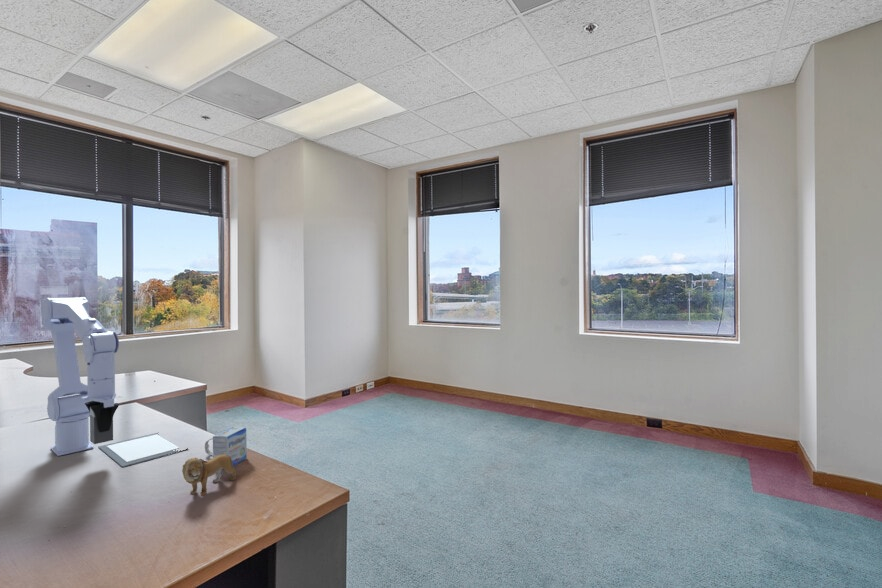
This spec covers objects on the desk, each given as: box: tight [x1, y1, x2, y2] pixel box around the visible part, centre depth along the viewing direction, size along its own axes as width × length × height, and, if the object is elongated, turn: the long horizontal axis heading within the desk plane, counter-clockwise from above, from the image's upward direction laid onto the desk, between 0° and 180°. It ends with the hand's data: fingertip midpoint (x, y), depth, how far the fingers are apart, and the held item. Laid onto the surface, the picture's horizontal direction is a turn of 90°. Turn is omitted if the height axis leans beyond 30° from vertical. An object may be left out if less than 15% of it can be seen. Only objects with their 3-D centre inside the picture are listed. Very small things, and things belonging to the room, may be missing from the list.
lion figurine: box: [181, 454, 237, 496], centre depth 102 cm, size 15×5×9 cm, turn 165°
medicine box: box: [212, 426, 248, 467], centre depth 116 cm, size 8×4×9 cm, turn 168°
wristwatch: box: [204, 437, 213, 457], centre depth 122 cm, size 3×5×5 cm, turn 89°
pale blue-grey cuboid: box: [89, 408, 114, 445], centre depth 115 cm, size 4×4×9 cm
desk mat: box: [97, 432, 182, 468], centre depth 126 cm, size 22×16×1 cm
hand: (101, 429), depth 115 cm, fingers closed on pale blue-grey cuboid, 4 cm apart
